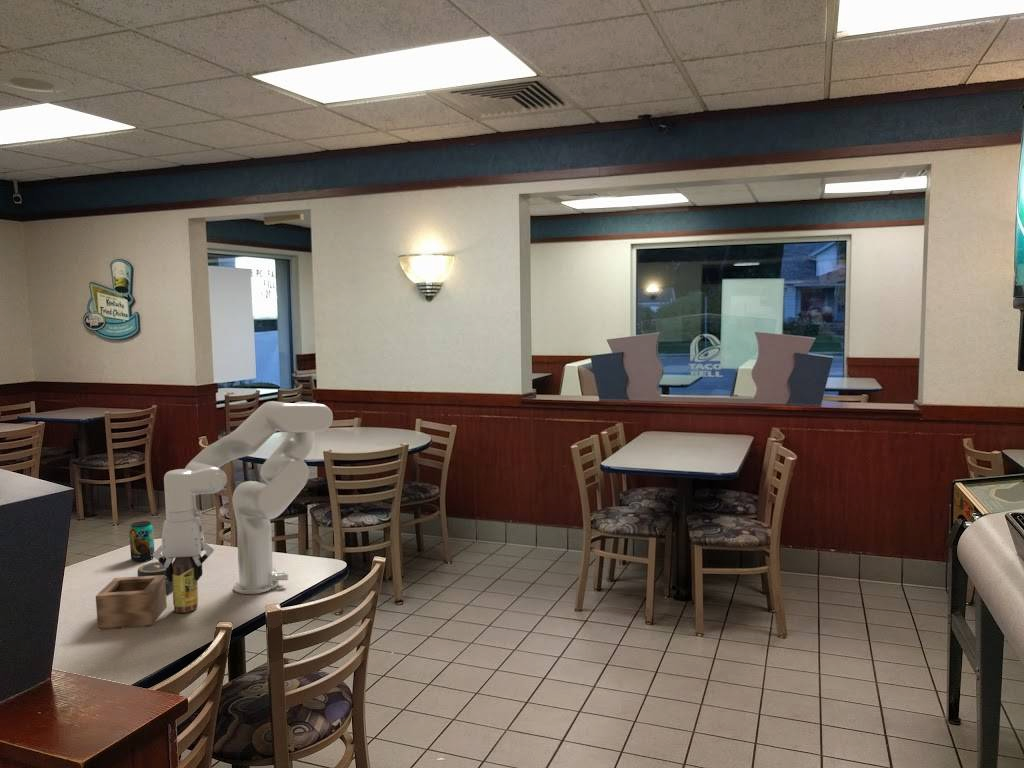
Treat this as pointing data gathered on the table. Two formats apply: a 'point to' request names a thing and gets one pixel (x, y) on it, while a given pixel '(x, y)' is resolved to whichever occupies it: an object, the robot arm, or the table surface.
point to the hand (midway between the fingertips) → (184, 578)
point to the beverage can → (141, 541)
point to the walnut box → (131, 602)
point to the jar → (155, 573)
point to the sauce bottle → (184, 585)
